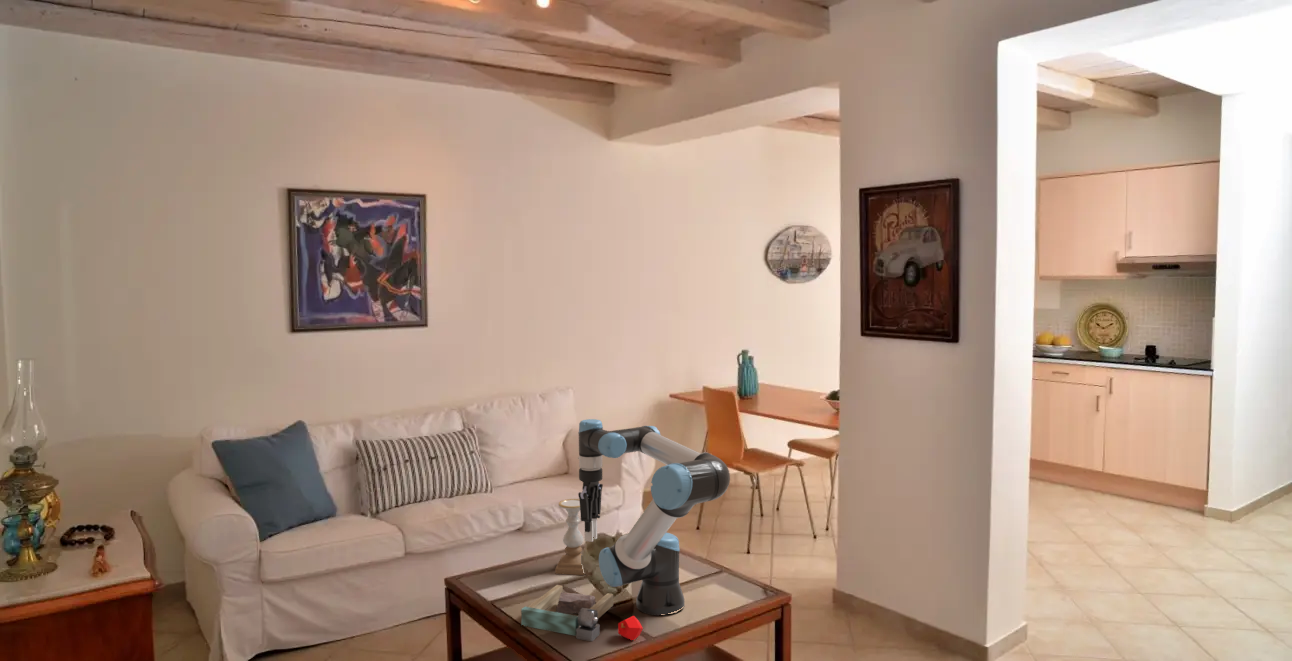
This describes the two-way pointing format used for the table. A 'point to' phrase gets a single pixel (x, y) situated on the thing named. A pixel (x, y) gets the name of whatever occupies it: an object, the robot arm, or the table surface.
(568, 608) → the stone
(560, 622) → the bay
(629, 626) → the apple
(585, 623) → the winch
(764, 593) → the table surface
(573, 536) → the candle holder
